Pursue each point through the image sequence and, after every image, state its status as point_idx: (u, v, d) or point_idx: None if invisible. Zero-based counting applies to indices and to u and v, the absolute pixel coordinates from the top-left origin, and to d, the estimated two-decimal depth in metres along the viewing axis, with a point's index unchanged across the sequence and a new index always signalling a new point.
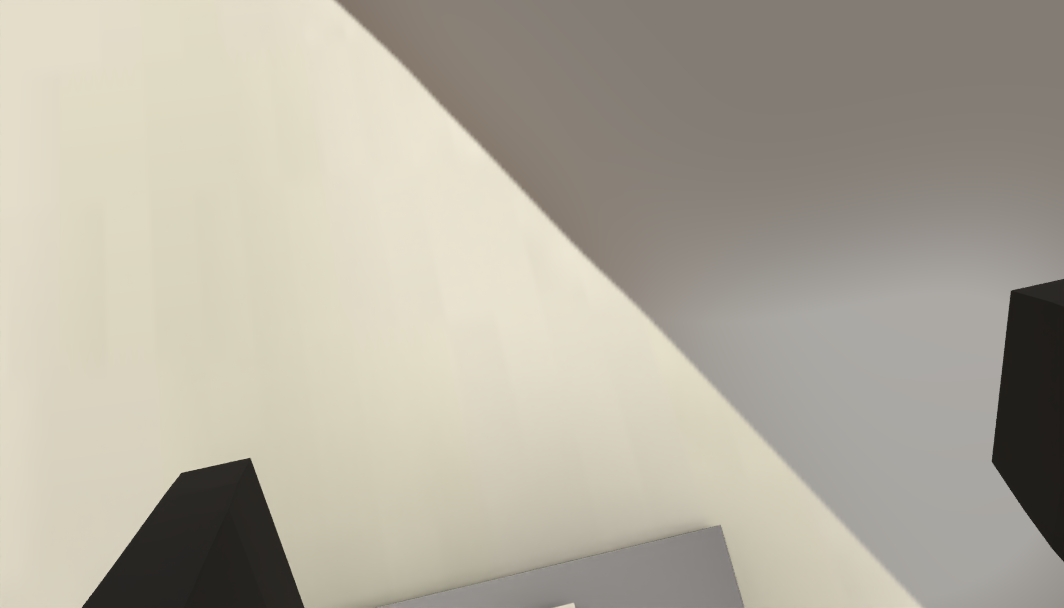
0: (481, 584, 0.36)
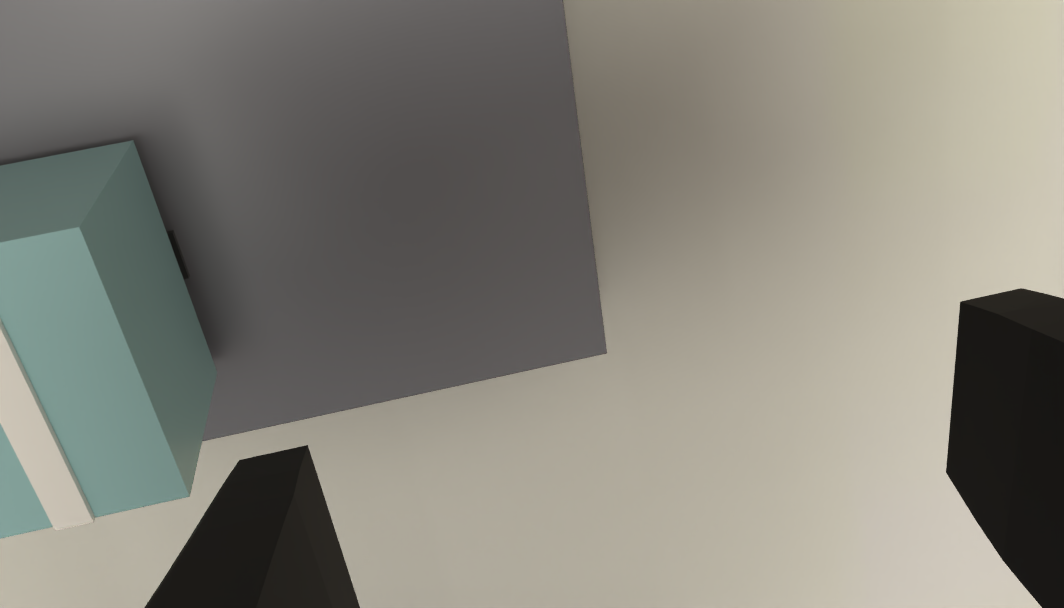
0: None
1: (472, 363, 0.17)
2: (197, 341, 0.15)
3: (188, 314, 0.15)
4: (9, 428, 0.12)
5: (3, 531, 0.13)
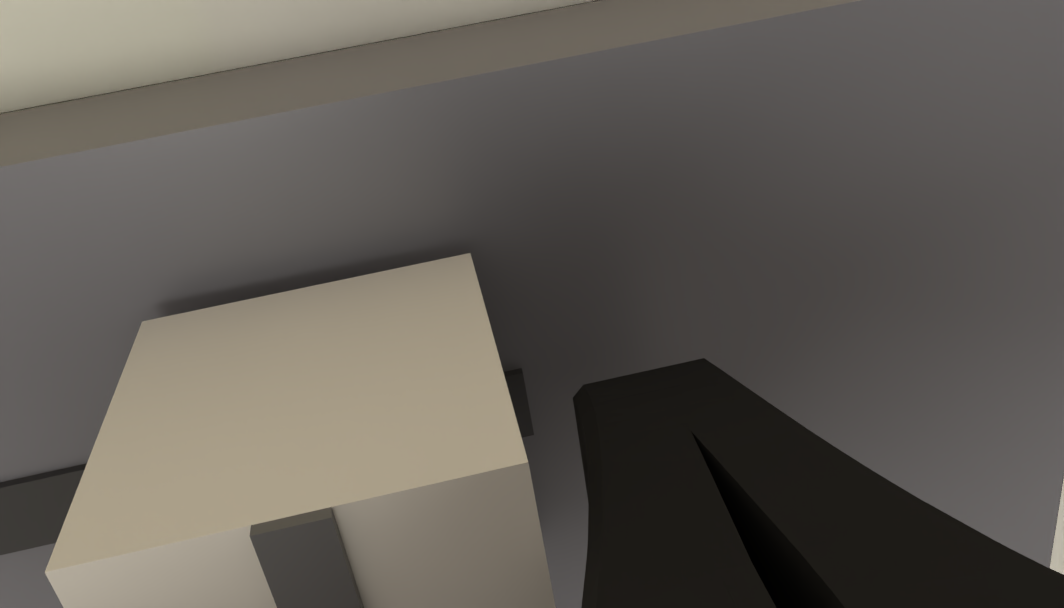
0: (132, 150, 0.08)
1: None
2: None
3: None
4: None
5: None
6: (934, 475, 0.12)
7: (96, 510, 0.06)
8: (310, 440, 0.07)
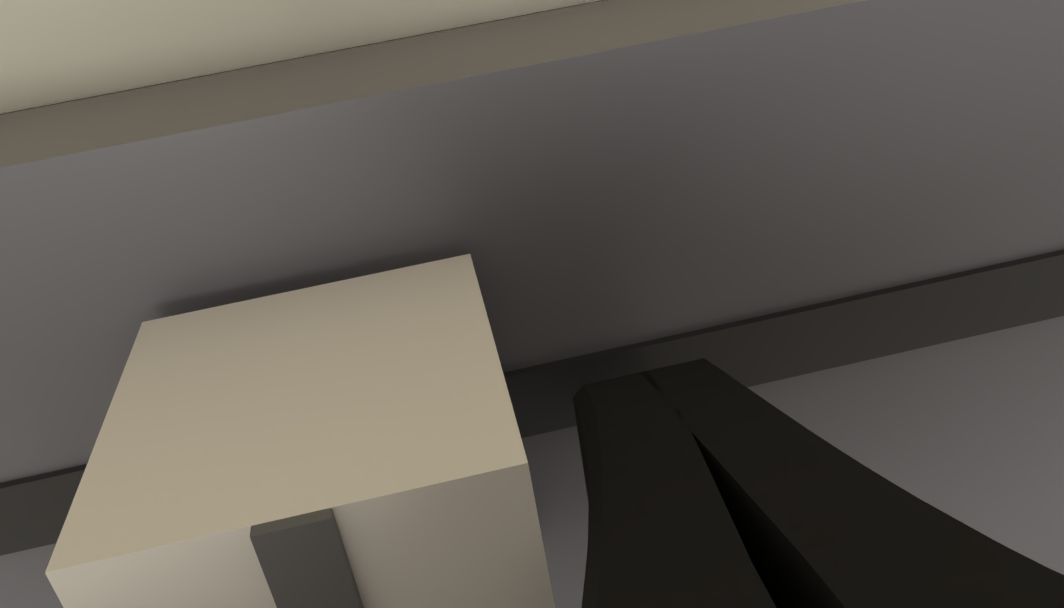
0: (894, 3, 0.09)
1: None
2: None
3: None
4: None
5: None
6: None
7: (96, 510, 0.06)
8: (311, 440, 0.07)
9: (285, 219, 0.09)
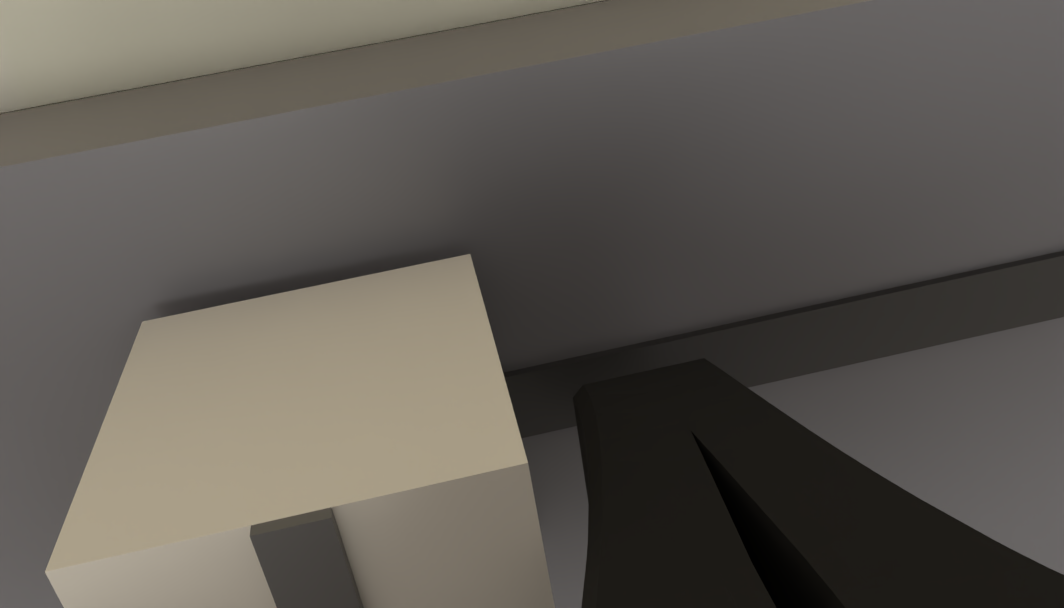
0: None
1: None
2: None
3: None
4: None
5: None
6: None
7: (96, 510, 0.06)
8: (311, 440, 0.07)
9: (678, 140, 0.09)
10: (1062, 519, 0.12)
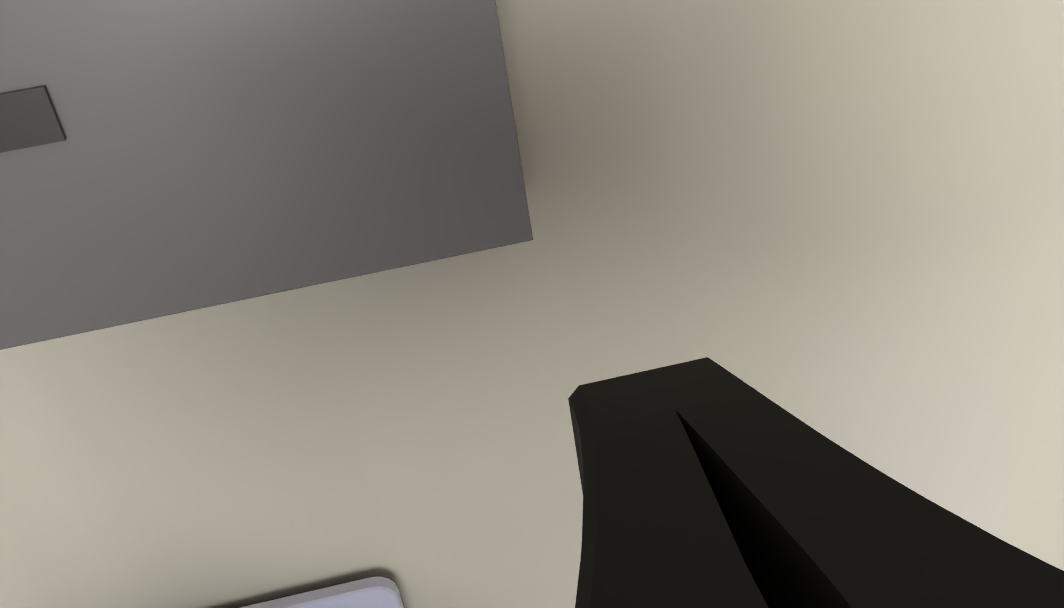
0: None
1: (385, 248, 0.16)
2: None
3: None
4: None
5: None
6: None
7: None
8: None
9: None
10: None
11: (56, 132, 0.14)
